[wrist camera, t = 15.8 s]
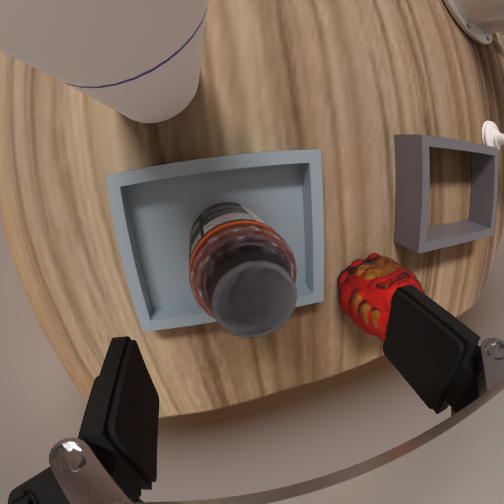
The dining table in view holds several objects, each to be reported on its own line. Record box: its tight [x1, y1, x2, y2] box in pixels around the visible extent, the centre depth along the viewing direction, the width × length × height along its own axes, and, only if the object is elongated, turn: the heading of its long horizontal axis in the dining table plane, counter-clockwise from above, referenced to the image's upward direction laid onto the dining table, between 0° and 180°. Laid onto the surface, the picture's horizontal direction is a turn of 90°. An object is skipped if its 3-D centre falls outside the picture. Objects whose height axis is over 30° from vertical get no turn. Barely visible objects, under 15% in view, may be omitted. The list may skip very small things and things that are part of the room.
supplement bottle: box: [189, 202, 297, 338], centre depth 18 cm, size 6×6×11 cm
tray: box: [105, 149, 324, 332], centre depth 23 cm, size 16×13×2 cm
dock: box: [394, 135, 498, 254], centre depth 25 cm, size 15×11×4 cm
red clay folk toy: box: [338, 253, 425, 340], centre depth 21 cm, size 8×7×15 cm
